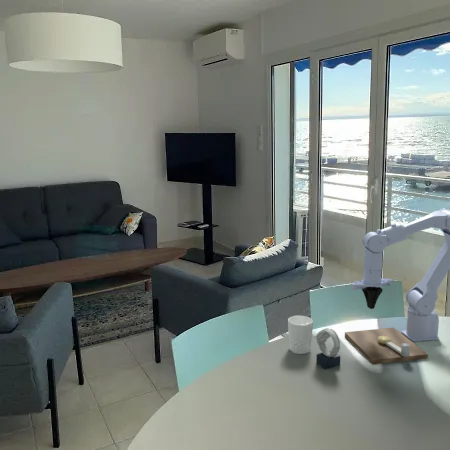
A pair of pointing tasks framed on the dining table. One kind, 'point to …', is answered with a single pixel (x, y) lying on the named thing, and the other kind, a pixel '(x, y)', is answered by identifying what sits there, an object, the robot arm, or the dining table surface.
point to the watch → (327, 357)
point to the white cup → (300, 334)
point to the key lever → (403, 350)
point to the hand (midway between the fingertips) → (370, 307)
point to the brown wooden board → (383, 346)
